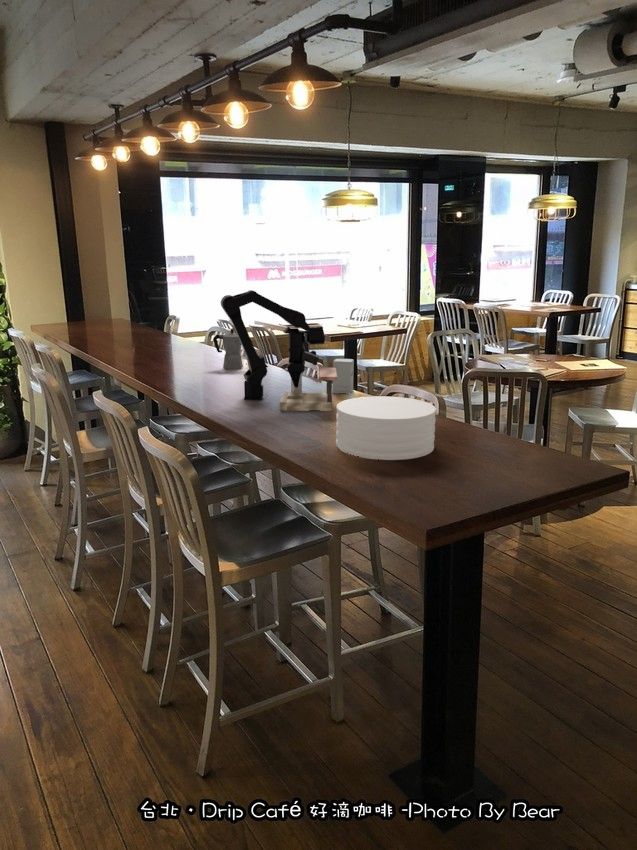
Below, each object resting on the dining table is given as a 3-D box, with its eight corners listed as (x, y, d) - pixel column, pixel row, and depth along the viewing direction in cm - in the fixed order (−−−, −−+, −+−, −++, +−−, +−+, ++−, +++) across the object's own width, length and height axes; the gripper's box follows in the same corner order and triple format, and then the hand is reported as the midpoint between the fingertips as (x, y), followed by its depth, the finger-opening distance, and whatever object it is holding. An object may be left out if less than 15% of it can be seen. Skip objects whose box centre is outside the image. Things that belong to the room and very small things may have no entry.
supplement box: (350, 394, 262) (351, 361, 259) (331, 393, 263) (332, 361, 260) (353, 390, 269) (354, 358, 266) (335, 389, 270) (335, 358, 267)
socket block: (280, 411, 234) (279, 376, 231) (282, 399, 251) (282, 367, 248) (336, 411, 234) (337, 376, 231) (335, 400, 251) (335, 367, 248)
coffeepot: (246, 365, 322) (245, 327, 317) (248, 369, 313) (247, 330, 308) (213, 366, 319) (211, 328, 314) (214, 370, 310) (213, 330, 305)
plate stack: (318, 440, 201) (318, 402, 198) (395, 428, 214) (397, 392, 211) (371, 466, 177) (372, 423, 174) (454, 451, 190) (456, 411, 188)
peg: (291, 393, 256) (291, 370, 254) (291, 391, 260) (291, 368, 257) (301, 394, 256) (301, 370, 254) (301, 391, 260) (301, 368, 257)
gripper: (318, 349, 244) (317, 391, 248) (317, 341, 262) (317, 381, 266) (287, 348, 244) (287, 391, 248) (289, 341, 262) (289, 381, 266)
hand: (296, 386), depth 257 cm, fingers closed on peg, 4 cm apart
